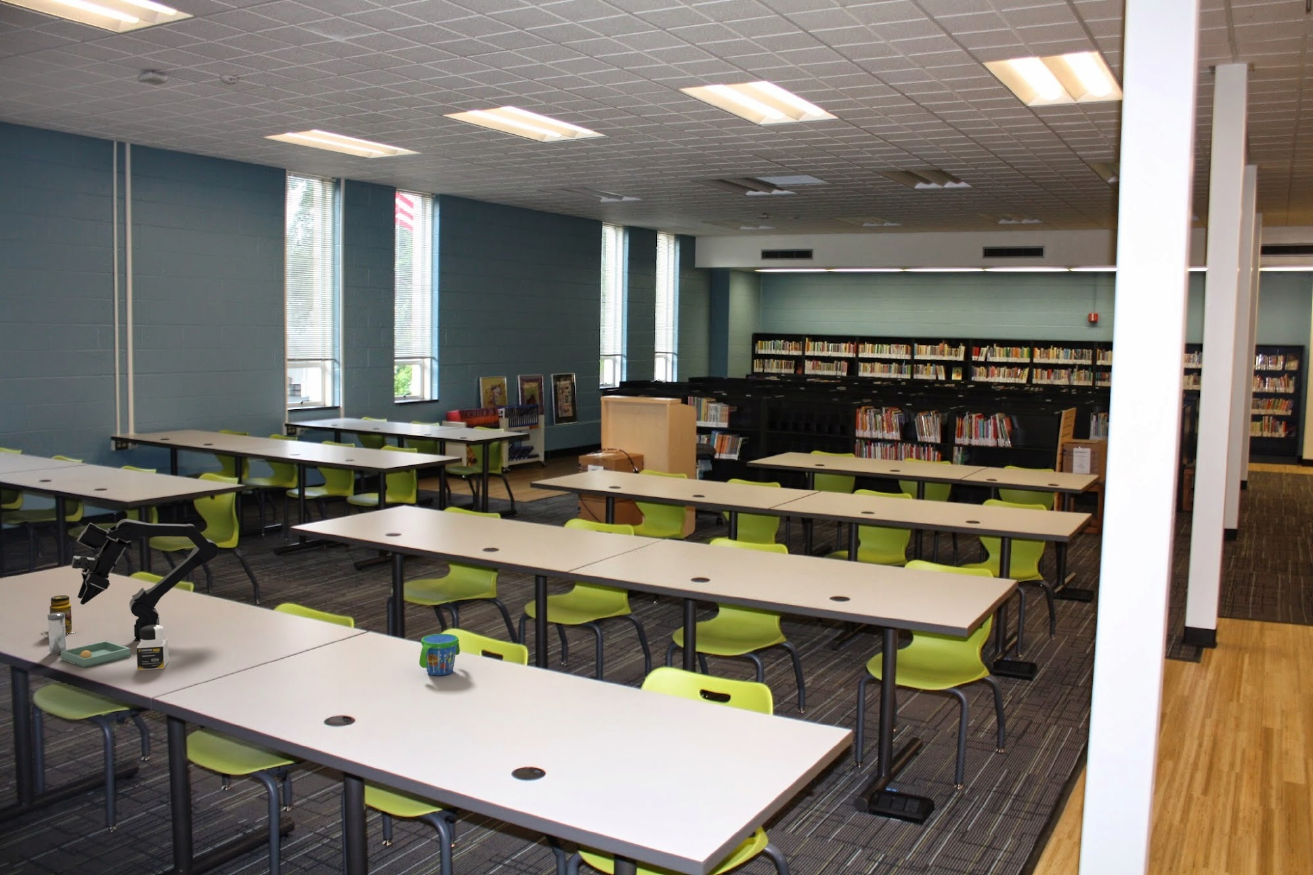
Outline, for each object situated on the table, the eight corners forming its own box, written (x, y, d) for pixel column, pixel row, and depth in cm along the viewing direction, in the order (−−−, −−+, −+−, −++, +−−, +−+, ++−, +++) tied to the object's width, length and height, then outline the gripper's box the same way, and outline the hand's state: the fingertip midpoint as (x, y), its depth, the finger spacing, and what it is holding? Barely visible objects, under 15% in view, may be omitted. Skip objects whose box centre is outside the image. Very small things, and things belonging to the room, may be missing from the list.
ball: (93, 658, 304) (92, 648, 304) (89, 661, 301) (89, 651, 301) (82, 659, 303) (81, 649, 303) (78, 662, 300) (78, 652, 300)
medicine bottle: (137, 670, 295) (135, 630, 294) (142, 663, 302) (141, 623, 301) (164, 669, 297) (162, 628, 296) (168, 661, 304) (167, 622, 303)
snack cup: (446, 662, 306) (446, 629, 305) (472, 668, 300) (472, 635, 299) (407, 676, 293) (406, 641, 292) (433, 683, 287) (433, 647, 286)
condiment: (76, 633, 332) (74, 597, 331) (46, 638, 326) (44, 601, 325) (69, 628, 337) (68, 592, 336) (40, 633, 332) (39, 597, 330)
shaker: (69, 650, 314) (67, 612, 312) (63, 654, 309) (61, 616, 308) (52, 651, 313) (50, 612, 312) (46, 655, 308) (44, 616, 307)
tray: (107, 648, 316) (106, 640, 316) (130, 656, 308) (130, 648, 308) (61, 659, 305) (60, 651, 304) (84, 667, 297) (84, 659, 297)
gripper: (80, 540, 323) (52, 584, 320) (86, 549, 308) (56, 596, 304) (114, 555, 329) (87, 599, 326) (122, 565, 314) (93, 611, 310)
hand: (80, 601), depth 316 cm, fingers open, 9 cm apart
